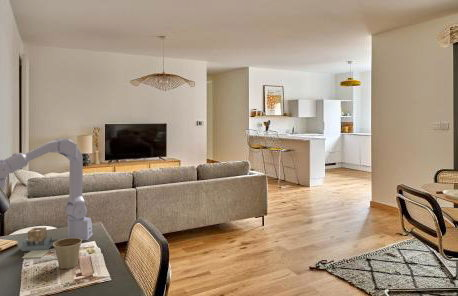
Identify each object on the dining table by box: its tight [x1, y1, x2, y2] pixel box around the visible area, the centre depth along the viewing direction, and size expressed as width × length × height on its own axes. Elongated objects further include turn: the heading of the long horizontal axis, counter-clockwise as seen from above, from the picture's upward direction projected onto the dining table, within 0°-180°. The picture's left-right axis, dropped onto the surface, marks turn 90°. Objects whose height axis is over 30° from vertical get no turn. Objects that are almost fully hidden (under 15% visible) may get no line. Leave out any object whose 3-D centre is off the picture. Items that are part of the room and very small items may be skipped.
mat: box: [21, 249, 50, 259], centre depth 135 cm, size 7×7×1 cm
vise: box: [20, 230, 59, 252], centre depth 143 cm, size 13×7×7 cm, turn 93°
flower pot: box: [52, 237, 83, 270], centre depth 124 cm, size 9×9×9 cm
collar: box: [27, 226, 48, 241], centre depth 143 cm, size 5×5×4 cm
